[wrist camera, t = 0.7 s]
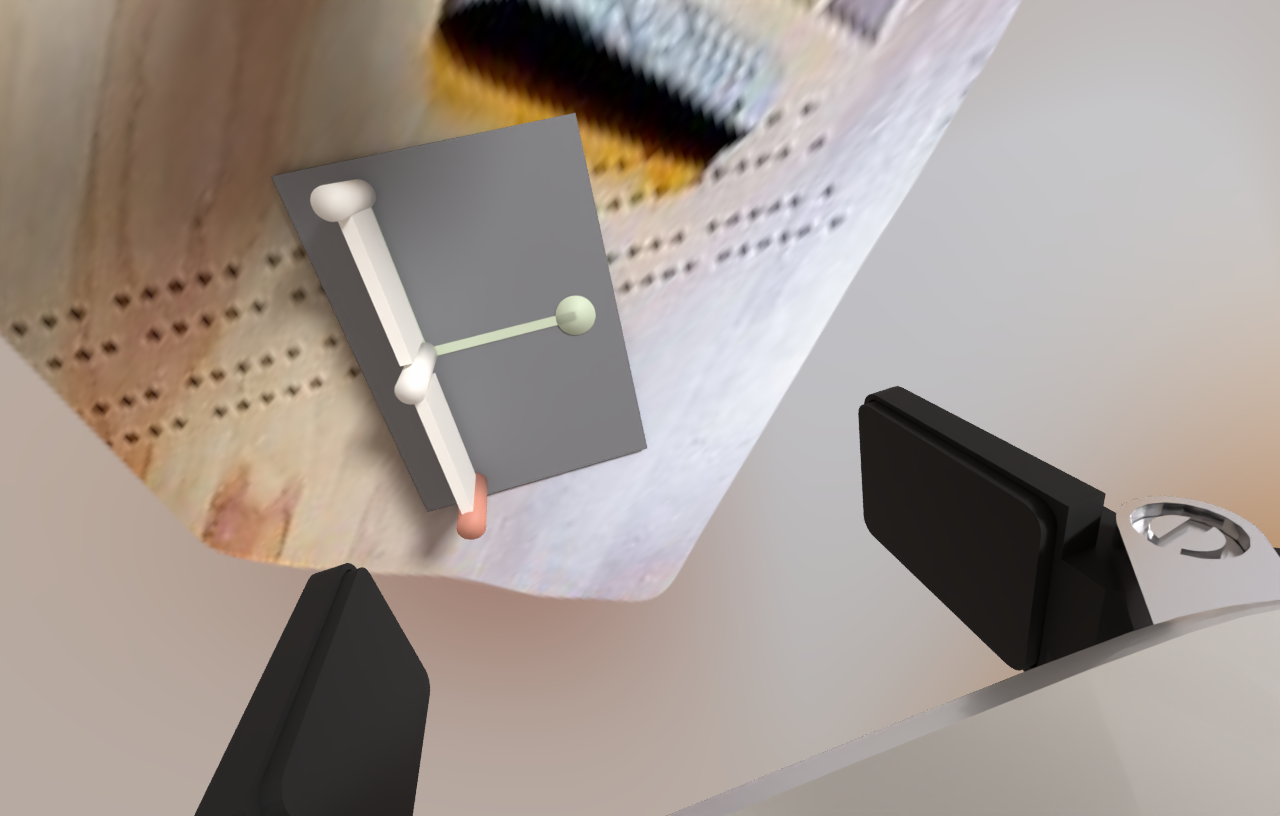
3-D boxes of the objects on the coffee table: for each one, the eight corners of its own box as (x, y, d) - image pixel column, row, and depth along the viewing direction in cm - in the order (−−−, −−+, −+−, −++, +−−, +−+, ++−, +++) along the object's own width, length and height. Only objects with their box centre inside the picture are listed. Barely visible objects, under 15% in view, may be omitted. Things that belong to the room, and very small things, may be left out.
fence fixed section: (339, 182, 34) (303, 188, 28) (369, 176, 34) (339, 181, 28) (416, 368, 40) (401, 407, 33) (441, 361, 40) (430, 399, 34)
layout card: (274, 175, 33) (270, 176, 33) (574, 113, 36) (575, 112, 35) (428, 507, 45) (427, 512, 45) (645, 444, 47) (647, 448, 47)
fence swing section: (416, 375, 39) (403, 410, 34) (443, 368, 40) (435, 401, 34) (466, 496, 44) (462, 542, 39) (490, 489, 45) (489, 534, 39)
